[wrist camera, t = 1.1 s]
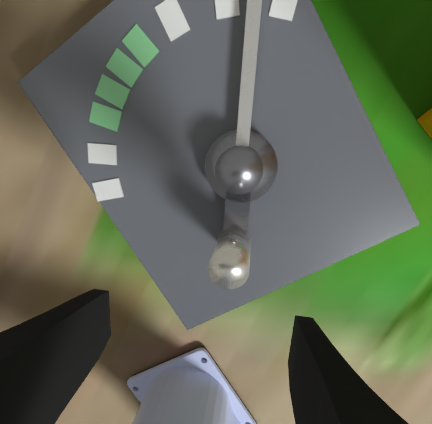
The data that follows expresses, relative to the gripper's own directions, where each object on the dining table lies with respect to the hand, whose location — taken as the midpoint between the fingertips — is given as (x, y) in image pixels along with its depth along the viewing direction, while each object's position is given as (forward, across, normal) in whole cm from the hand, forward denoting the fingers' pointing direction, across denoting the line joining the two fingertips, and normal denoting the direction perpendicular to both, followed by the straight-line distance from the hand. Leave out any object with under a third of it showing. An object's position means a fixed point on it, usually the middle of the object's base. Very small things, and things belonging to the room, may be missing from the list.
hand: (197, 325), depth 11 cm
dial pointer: (+8, -1, -6) cm, 10 cm away
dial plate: (+10, +1, -6) cm, 12 cm away
